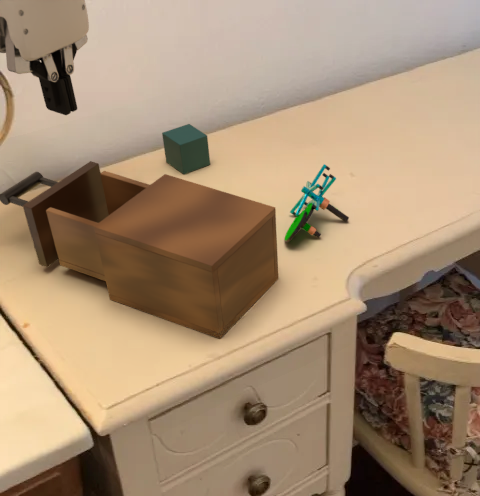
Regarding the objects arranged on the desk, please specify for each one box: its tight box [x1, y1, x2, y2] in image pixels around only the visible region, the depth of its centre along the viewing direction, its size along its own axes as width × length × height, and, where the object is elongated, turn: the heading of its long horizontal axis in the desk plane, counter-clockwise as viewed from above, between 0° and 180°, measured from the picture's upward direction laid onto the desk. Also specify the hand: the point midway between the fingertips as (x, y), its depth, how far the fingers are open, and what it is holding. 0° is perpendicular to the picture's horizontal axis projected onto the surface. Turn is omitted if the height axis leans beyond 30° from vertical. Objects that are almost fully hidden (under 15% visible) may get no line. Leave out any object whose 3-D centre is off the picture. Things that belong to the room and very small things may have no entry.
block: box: [161, 123, 211, 175], centre depth 115 cm, size 4×4×4 cm
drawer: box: [0, 161, 150, 282], centre depth 97 cm, size 20×11×8 cm, turn 65°
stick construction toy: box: [284, 163, 350, 243], centre depth 105 cm, size 12×7×8 cm
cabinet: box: [94, 173, 280, 340], centre depth 93 cm, size 15×13×10 cm
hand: (62, 109), depth 95 cm, fingers closed
